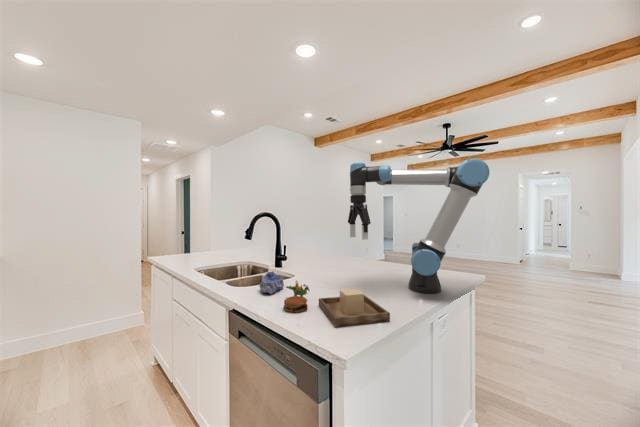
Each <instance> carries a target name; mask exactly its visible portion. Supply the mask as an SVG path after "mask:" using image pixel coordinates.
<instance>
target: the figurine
mask: <svg viewBox="0 0 640 427" xmlns="http://www.w3.org/2000/svg"><path fill="white" fill-rule="evenodd" d="M303 287H304V288H303ZM285 288H287V289H289V290H292V291H293V296H301V297H304V296H306V295H308V294H309V293H308V292H310V287H309V286H308V285H306V284H305V283H303V284H299V283H298V280H295V284H294V285H293V286H292V285H287V286H285Z"/></svg>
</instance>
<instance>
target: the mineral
mask: <svg viewBox="0 0 640 427" xmlns="http://www.w3.org/2000/svg"><path fill="white" fill-rule="evenodd" d="M260 279H261V281H260V283H259V288H260V290H259V291H261V292H263V293H265V294H267V293H268V294H271V295H272V294H275V293H276V292H277V291H279V290H284V287H285V284H284V278H282V277H279V276H277V275H276V274H275V272H274V271H268V272H267V273H266V274H264V276H262V277H261V278H260Z"/></svg>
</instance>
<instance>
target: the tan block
mask: <svg viewBox="0 0 640 427" xmlns="http://www.w3.org/2000/svg"><path fill="white" fill-rule="evenodd" d="M364 295H365V293H363V292H361V290H359V289H357V288H351V289H339V297H340V309H341V310H342V311H343V312H344V313H345V314H346V315H348V314H358V313H364Z"/></svg>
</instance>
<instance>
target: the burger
mask: <svg viewBox="0 0 640 427" xmlns="http://www.w3.org/2000/svg"><path fill="white" fill-rule="evenodd" d="M307 302H308V299H307V298H306V297H304V296H303V297H302V296H301V295H297V296H294V295H293V296H289V297H286V298H285V299H284V302H283V303H284V305H283V311H285V312H291V313H300V312H304V311H307V310H308V307H309V306H308V303H307Z"/></svg>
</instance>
